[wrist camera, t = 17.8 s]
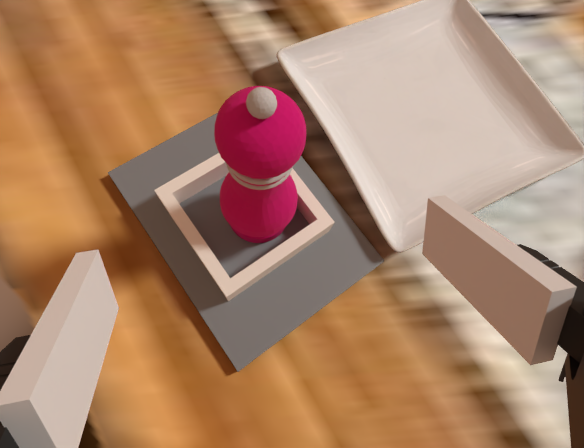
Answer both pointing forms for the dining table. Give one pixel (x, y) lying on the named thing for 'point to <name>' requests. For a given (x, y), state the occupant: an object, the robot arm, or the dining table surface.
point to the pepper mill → (259, 161)
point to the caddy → (242, 244)
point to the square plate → (429, 112)
